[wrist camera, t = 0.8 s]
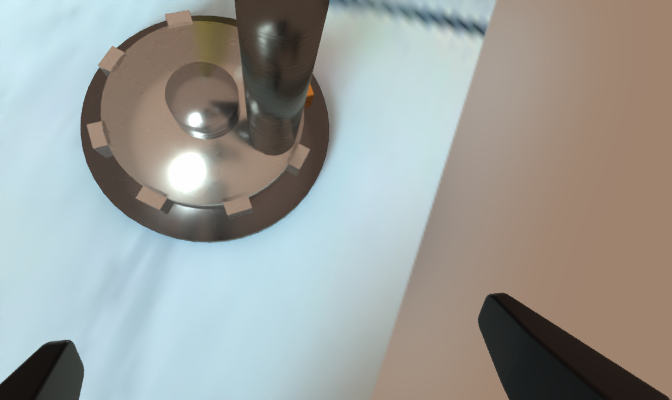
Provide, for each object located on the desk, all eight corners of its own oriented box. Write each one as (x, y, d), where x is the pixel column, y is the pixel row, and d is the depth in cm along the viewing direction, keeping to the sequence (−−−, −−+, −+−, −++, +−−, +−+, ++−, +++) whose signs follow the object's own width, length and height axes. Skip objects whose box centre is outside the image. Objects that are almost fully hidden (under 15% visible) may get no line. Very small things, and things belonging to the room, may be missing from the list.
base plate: (361, 189, 22) (380, 173, 19) (137, 283, 19) (108, 285, 16) (275, 1, 24) (278, -49, 20) (52, 60, 21) (7, 14, 17)
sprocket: (343, 175, 21) (431, 69, 10) (143, 256, 19) (-33, 231, 8) (267, 6, 22) (271, -259, 11) (68, 60, 20) (-184, -215, 9)
